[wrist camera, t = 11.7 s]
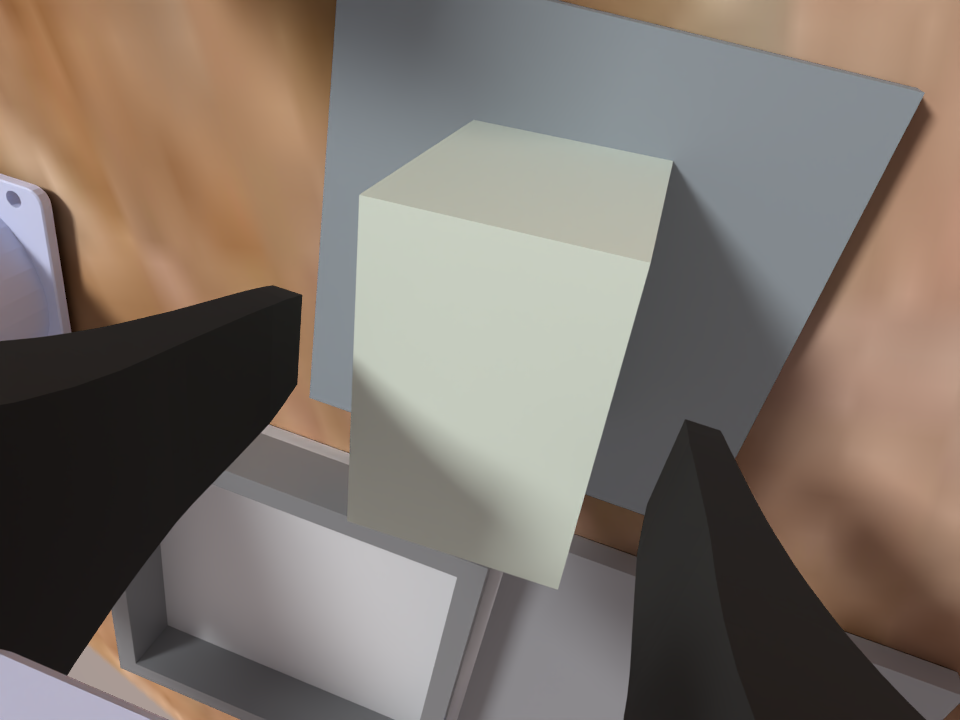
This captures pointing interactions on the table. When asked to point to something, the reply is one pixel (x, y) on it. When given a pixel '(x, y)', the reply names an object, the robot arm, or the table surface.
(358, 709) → the equipment case
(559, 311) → the block
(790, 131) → the slate mat
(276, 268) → the table surface
